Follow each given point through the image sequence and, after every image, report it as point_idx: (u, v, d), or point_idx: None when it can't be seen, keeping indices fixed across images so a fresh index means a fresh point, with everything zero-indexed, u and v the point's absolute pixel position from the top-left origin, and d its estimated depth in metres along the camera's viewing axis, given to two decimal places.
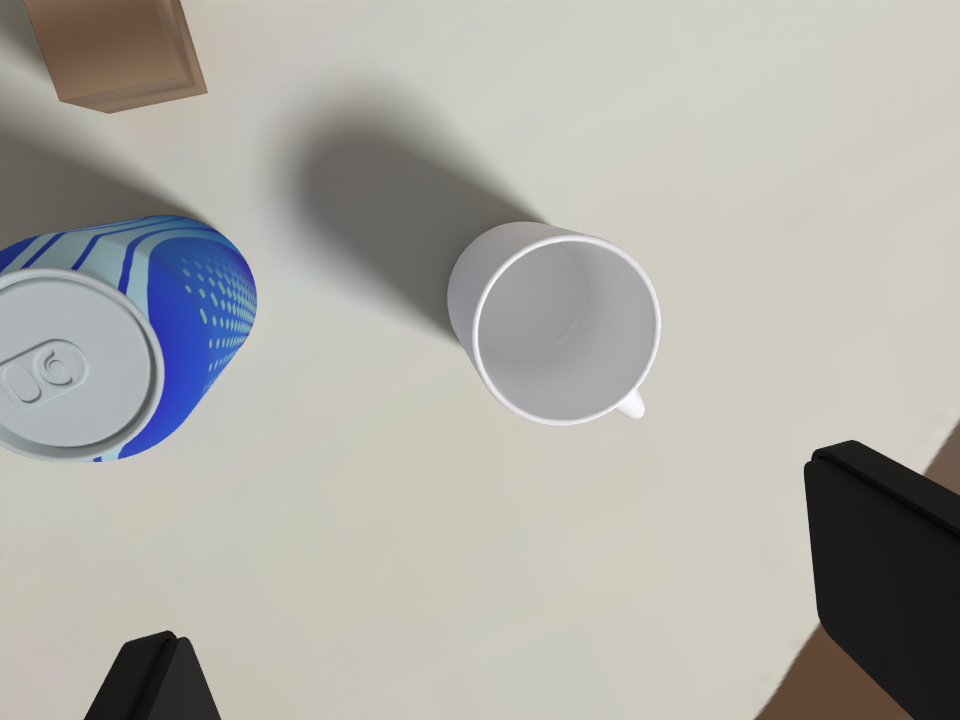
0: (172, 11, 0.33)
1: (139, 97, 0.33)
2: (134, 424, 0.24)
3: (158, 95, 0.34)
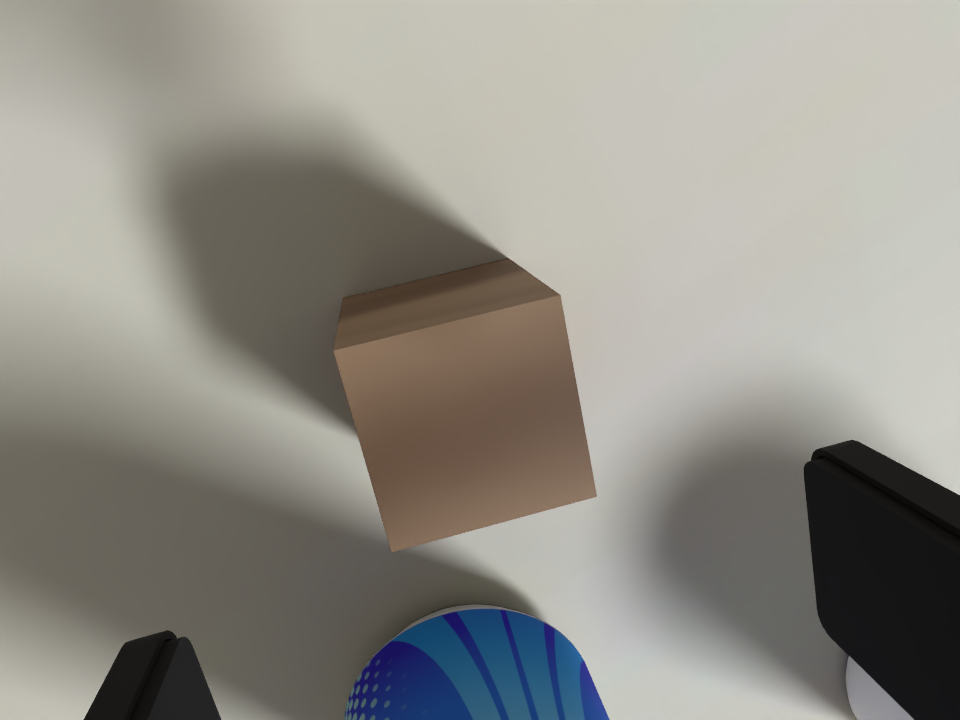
0: None
1: None
2: None
3: None
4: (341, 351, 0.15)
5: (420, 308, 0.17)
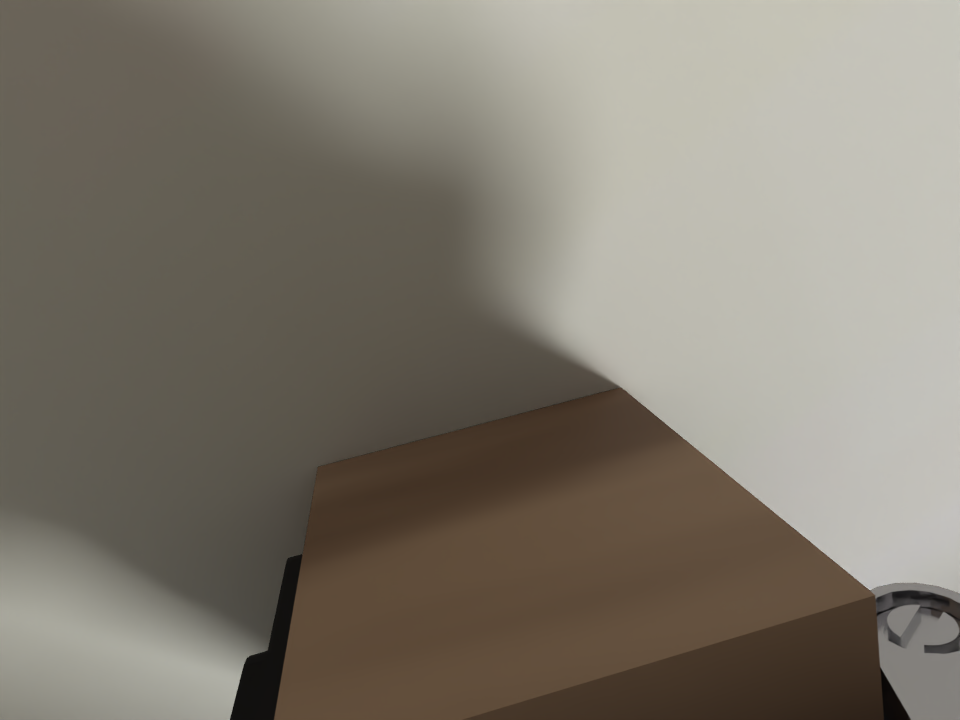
0: None
1: None
2: None
3: None
4: None
5: (483, 563, 0.07)
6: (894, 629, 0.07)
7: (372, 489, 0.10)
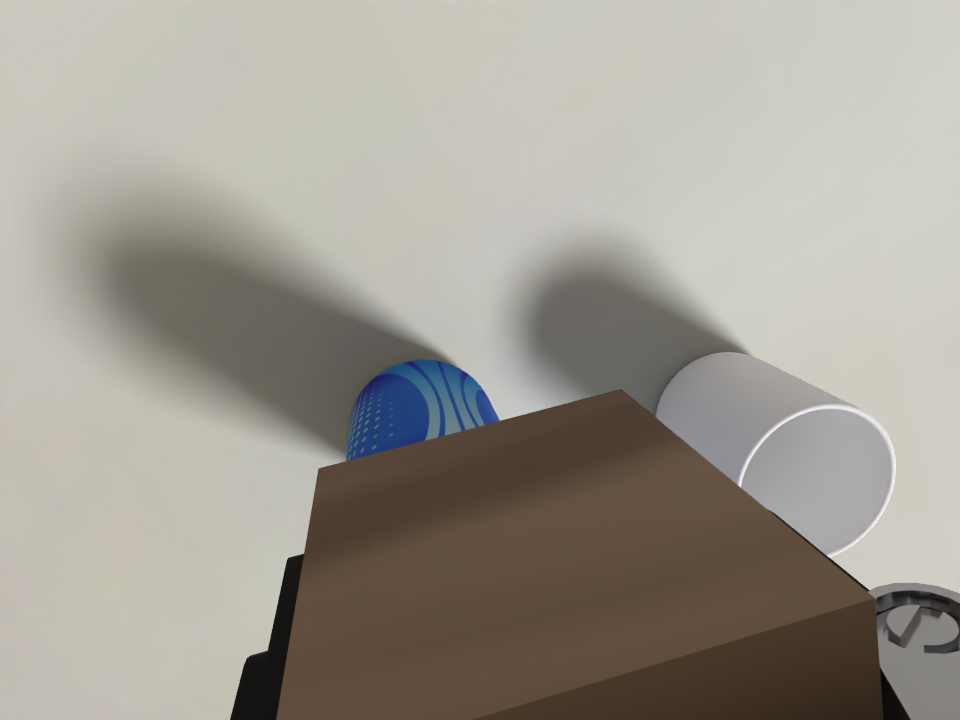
0: None
1: None
2: None
3: None
4: None
5: (484, 565, 0.07)
6: (893, 629, 0.07)
7: (373, 491, 0.10)
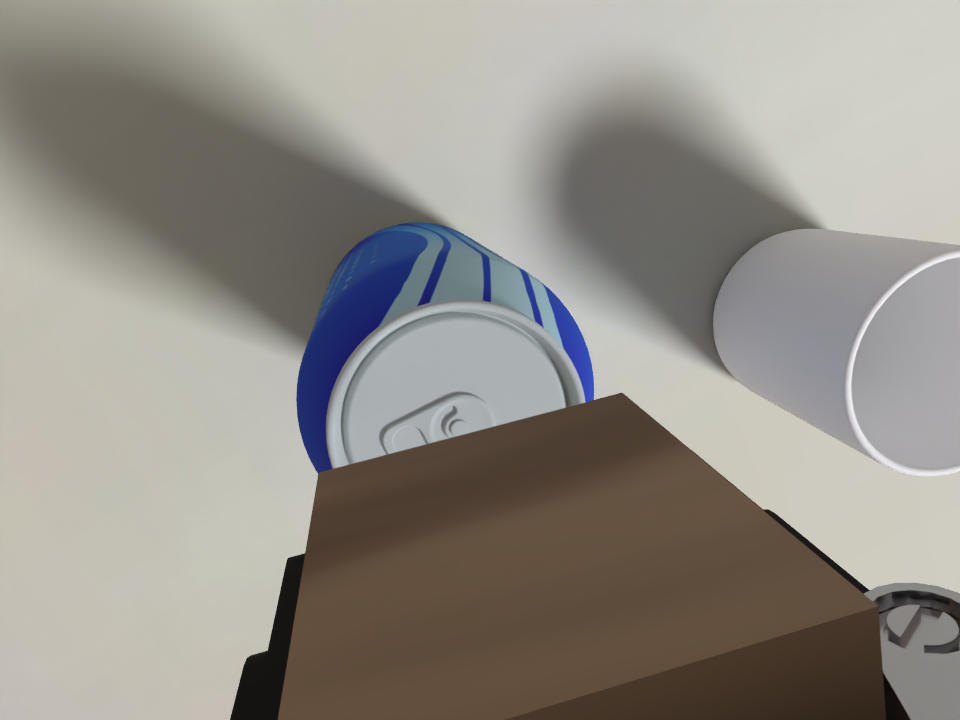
0: None
1: None
2: None
3: None
4: None
5: (485, 571, 0.07)
6: (894, 629, 0.07)
7: (373, 495, 0.10)
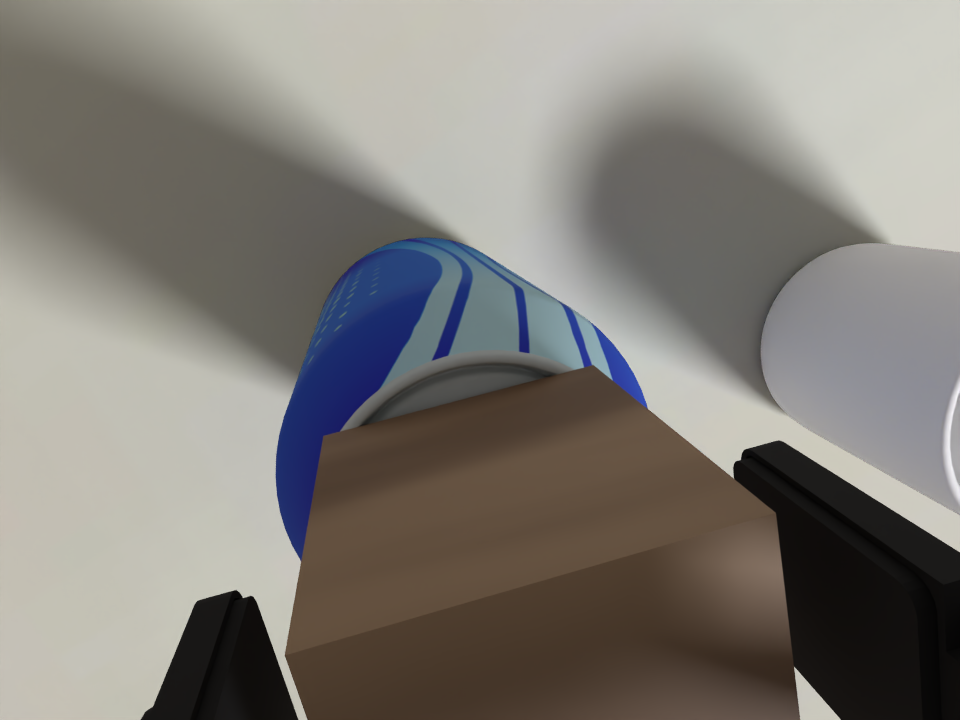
0: None
1: None
2: None
3: None
4: (303, 656, 0.07)
5: (464, 503, 0.09)
6: None
7: (371, 451, 0.11)
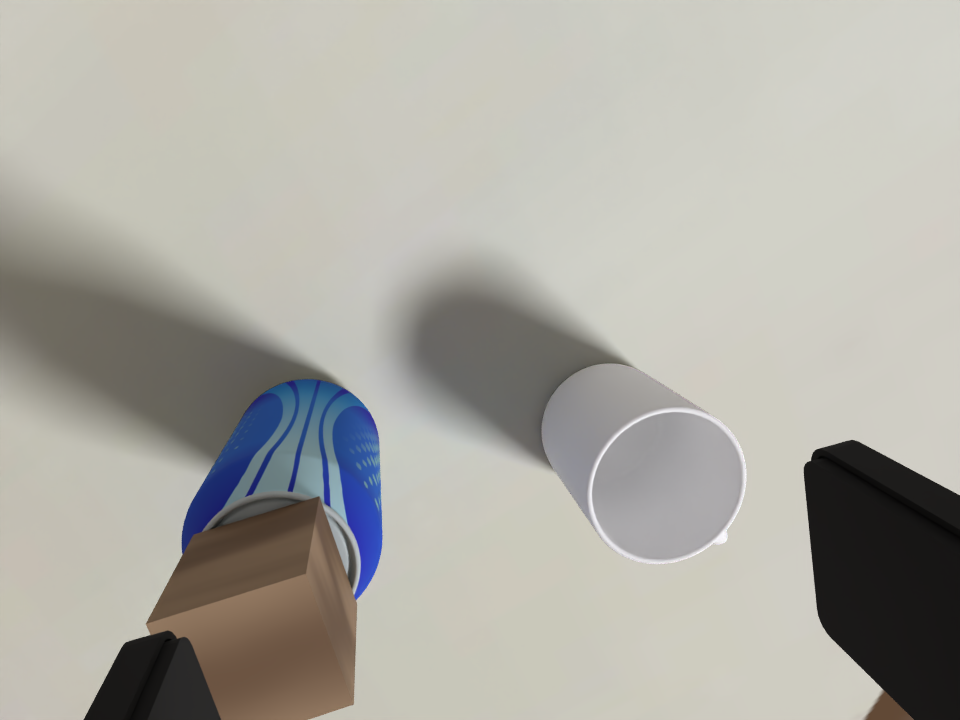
0: (328, 569, 0.25)
1: None
2: None
3: None
4: (151, 624, 0.22)
5: (225, 569, 0.24)
6: None
7: (207, 544, 0.26)
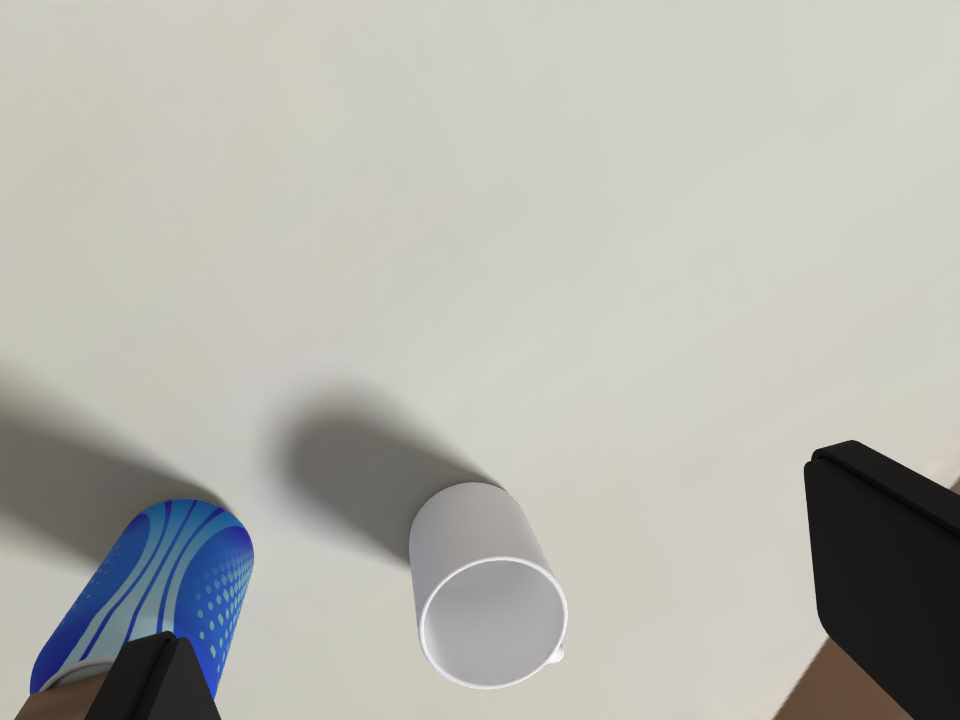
0: None
1: None
2: None
3: None
4: None
5: None
6: None
7: (36, 711, 0.30)
